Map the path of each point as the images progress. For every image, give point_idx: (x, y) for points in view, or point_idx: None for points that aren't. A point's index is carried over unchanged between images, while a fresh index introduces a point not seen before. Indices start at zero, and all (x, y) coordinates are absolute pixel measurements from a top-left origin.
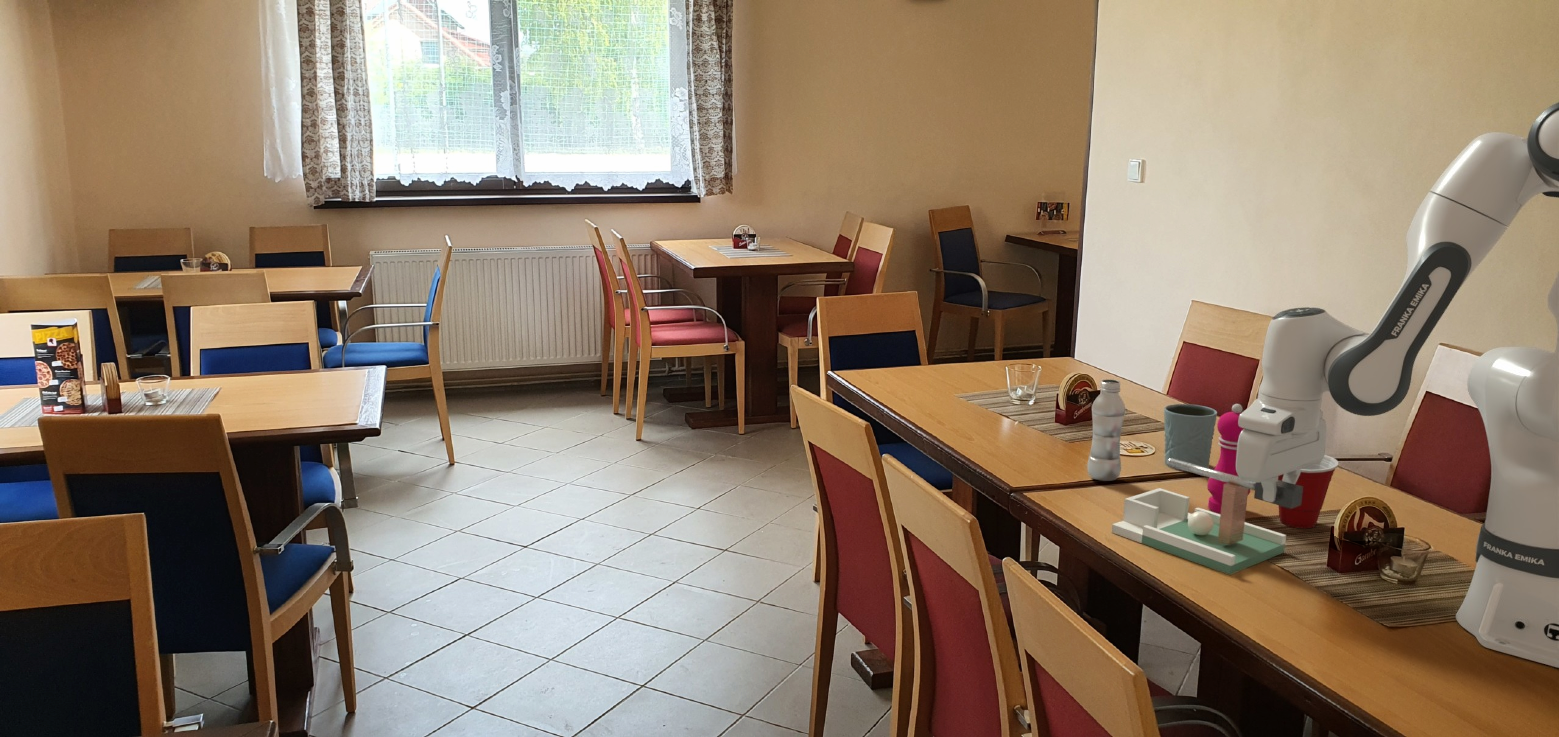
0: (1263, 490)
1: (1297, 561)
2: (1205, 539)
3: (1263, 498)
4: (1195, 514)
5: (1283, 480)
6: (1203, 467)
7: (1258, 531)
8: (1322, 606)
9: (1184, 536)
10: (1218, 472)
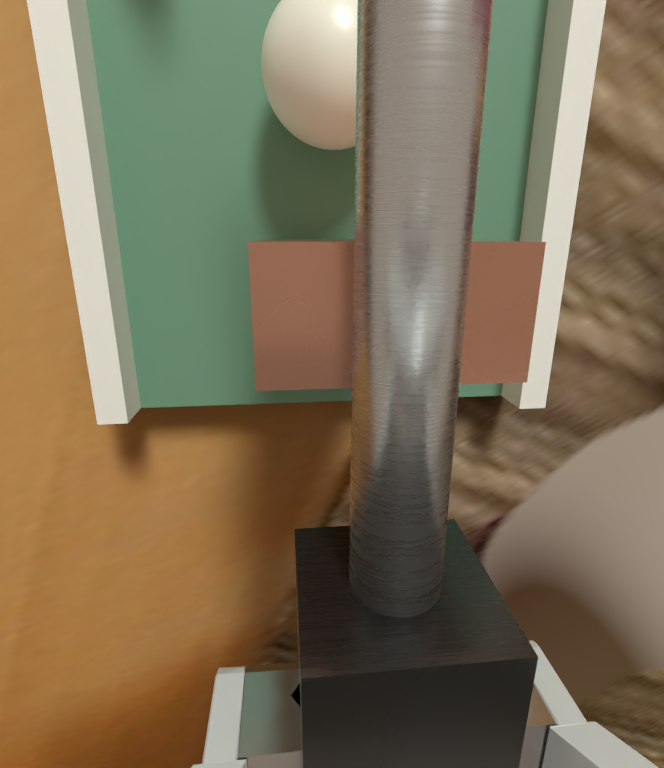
0: (205, 744)
1: (457, 454)
2: (291, 155)
3: (219, 673)
4: (297, 21)
5: (573, 758)
6: None
7: None
8: (177, 666)
9: (236, 51)
10: (411, 10)
